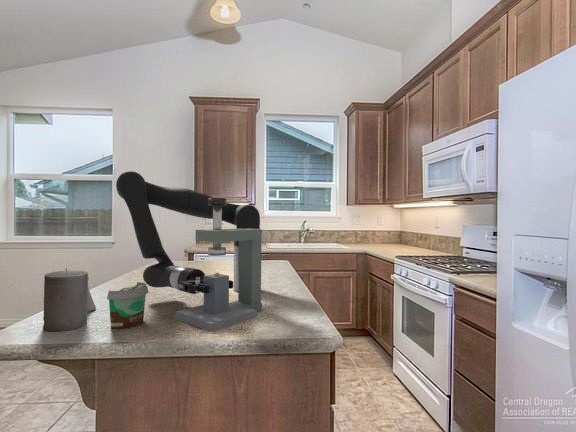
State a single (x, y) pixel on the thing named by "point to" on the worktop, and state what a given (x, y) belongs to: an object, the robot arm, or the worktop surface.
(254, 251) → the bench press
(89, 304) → the flask
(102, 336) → the worktop surface
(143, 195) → the robot arm
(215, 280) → the block
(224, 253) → the press ram
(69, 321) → the pillar candle
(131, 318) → the food container
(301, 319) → the worktop surface
